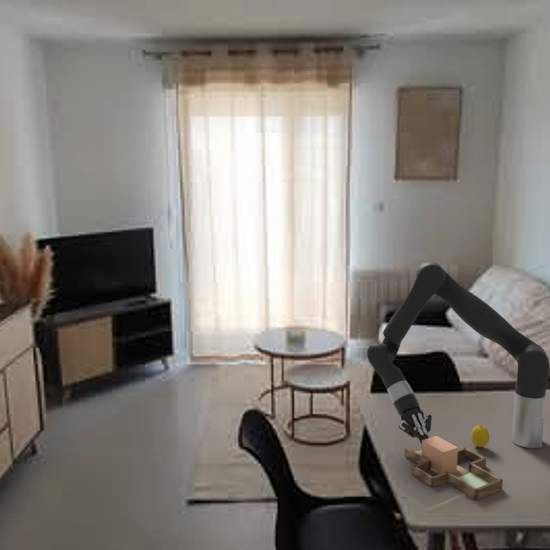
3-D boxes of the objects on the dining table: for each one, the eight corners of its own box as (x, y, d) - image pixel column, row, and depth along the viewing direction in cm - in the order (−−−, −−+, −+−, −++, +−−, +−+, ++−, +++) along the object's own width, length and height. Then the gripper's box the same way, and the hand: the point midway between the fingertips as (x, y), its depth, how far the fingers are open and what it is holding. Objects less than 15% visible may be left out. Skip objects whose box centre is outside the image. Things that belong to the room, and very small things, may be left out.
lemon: (479, 453, 191) (481, 430, 189) (467, 446, 196) (468, 423, 194) (492, 449, 193) (493, 426, 192) (479, 442, 198) (480, 420, 197)
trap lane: (390, 461, 187) (390, 452, 186) (441, 443, 198) (442, 435, 197) (461, 506, 162) (462, 496, 161) (515, 483, 173) (516, 474, 172)
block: (421, 460, 186) (422, 440, 185) (435, 456, 189) (436, 435, 187) (442, 473, 178) (443, 452, 177) (456, 468, 181) (457, 447, 180)
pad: (449, 482, 174) (449, 481, 174) (471, 473, 179) (471, 472, 179) (475, 497, 166) (475, 496, 166) (497, 488, 171) (497, 487, 170)
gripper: (393, 397, 189) (419, 448, 181) (423, 388, 196) (450, 437, 188) (381, 406, 195) (406, 457, 187) (412, 398, 201) (437, 446, 193)
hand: (428, 447), depth 187 cm, fingers closed
